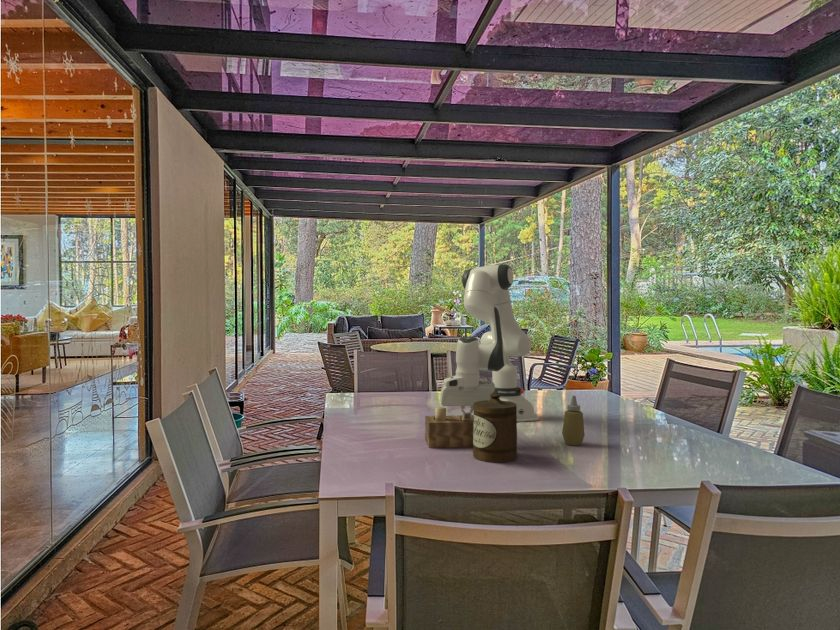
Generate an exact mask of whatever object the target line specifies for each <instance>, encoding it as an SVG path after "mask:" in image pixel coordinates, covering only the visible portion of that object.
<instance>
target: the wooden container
mask: <svg viewBox="0 0 840 630" xmlns="http://www.w3.org/2000/svg"><path fill="white" fill-rule="evenodd" d="M490 397H491V399H490V400H485V401H477V402H475V403H474V407H473V409H474V410H473V415H474V426H473V447H472V448H473V449H472V455H473V458H475V459H477V460H479V461H481V462H490V463H508V462H509V463H510V462H511V461H514V460H516V459H517V457H518V454H517V453H518V445H517V444H518V425H517V424H518V422H517V415H516V414H517V406H516V404H515V403H513V402H509V401H501V400H500V399H499V398H500V394H499V393H497V392H493V393H491V394H490Z"/></svg>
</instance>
